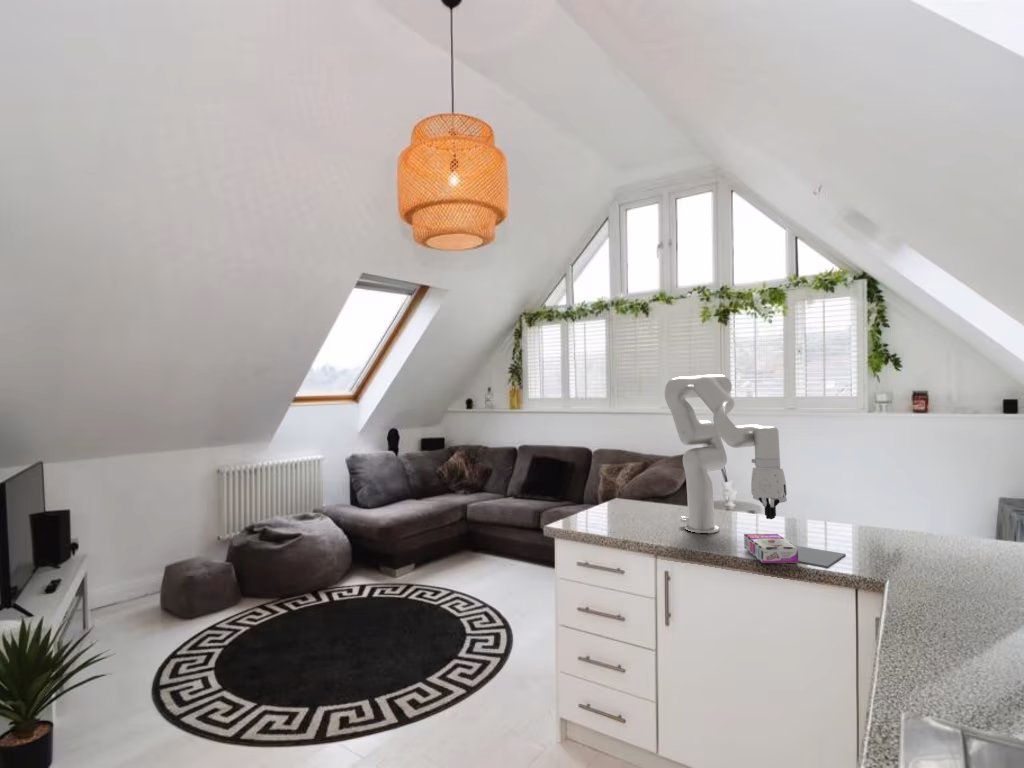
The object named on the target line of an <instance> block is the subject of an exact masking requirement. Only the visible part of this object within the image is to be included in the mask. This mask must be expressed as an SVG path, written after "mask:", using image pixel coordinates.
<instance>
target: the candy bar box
mask: <svg viewBox="0 0 1024 768" xmlns="http://www.w3.org/2000/svg"><path fill="white" fill-rule="evenodd" d="M743 542H744V543H743V545H744V546H743V547H744V549H745V550H747V551H748V553H750V554H751V555H752V556H754V557H755V558H756V559H757V560H758V561H759V562H761V563H762V564H773V563H774V564H779V563H780V564H781V563H783V564H786V563H788V564H790V563H792V564H793V563H798V547H796V546H797V545H795V544H793V543H791V542H790V541H789V540H787V539H786V538H784V537H783V536H781V535H779V533H744V534H743ZM794 545H795V546H794Z"/></svg>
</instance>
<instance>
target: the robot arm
mask: <svg viewBox="0 0 1024 768" xmlns="http://www.w3.org/2000/svg"><path fill="white" fill-rule="evenodd" d="M731 392H732V382H731V380H730V379H729V377H728V376H726V375H724V374H703V375H690V376H677V377H674V378H671V379H669V380H668V382H667V383H666V384H665V387H664V397H665V399H664V400H665V402H666V404H667V406H668V409H669V410H670V413H671V415H672V418H673V421H674V425H675V428H676V431H677V434H678V437H679V441H680V442H681V444H683V445H685V446H690V447H691V446H700V445H702V447H694V448H690V449H688V450H686V451H684V453H683V456H682V465H683V469H684V475H685V482H686V495H687V498H686V499H687V500H686V501H687V516H683V515H681V516H680V520H679V522H681V523H685V525H684V530H685V529H686V530H688V531H691V532H690V533H692V532H695V533H694V534H700V533H708V534H715V533H718V532H719V531H720V526H719V525H717V524H715V508H714V505H715V504H714V489H713V488H714V487H713V486H714V485H713V482H712V479H711V477H710V475H709V473H708V472H716V471H721V470H722V469H724V468H725V467H726V465H727V462H728V459H727V453H726V450H725V447H724V446H725V445H724V443H725V444H726V445H727V446H729V447H730V448H733V449H737V448H739V449H740V448H748V447H754V456H755V457H754V458H752V459H751V464H754V466H753V468H752V473H751V484H750V485H751V487H750V489H751V490H750V491H751V495H752V498H753V499H754V500H756V501H759V502H760V503H761V504H762V506H763V507H764V516H765V518H766V519H767V520H773V519H775V518H776V516H777V508H776V507H777V506H778V505H779V504H781V503H787V502H788V500H787V494H788V491H787V484H786V477H785V474H784V468H783V467H781V457H780V456H781V455H780V435H779V428H777V427H776V426H773V425H759V424H744V425H743V424H741V425H735V424H734V423H733V422H732V420H731V419H730V418H729V416H728V414H729V413H730V412H731V411H732V410H733V409H734V407H735V400H734V399H733V397H732V396H730V393H731ZM686 398H700V399H701V400H702V401H703V403H704V404H705V405H706V407H707V408H708V409H709V410H710V411H711V413H712V414H713V422H712V420H711V421H710V420H707V419H704V420H703V419H701V420H700V419H699V420H698V418H697V416H696V413H695V409H694V408H693V406H692V405H691V404H690V403H689V401H687V400H686ZM723 442H724V443H723ZM686 530H685V531H686ZM688 531H687V532H688Z"/></svg>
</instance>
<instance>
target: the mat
mask: <svg viewBox="0 0 1024 768" xmlns="http://www.w3.org/2000/svg"><path fill="white" fill-rule="evenodd" d="M793 545H794V546H796V547H798V563H799V564H804V565H809V564H810V565H811V566H815V567H820V568H826V569H828V568H829V567H831V566H833V565H834V564H836V563H837V562H839V561H840V560H841V559H842V558H844V557H845V556H846V553H843V552H838V551H837V552H836V551H830V550H825V549H819V548H812V547H805V546H801V545H800V546H799V545H795V544H793Z"/></svg>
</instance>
